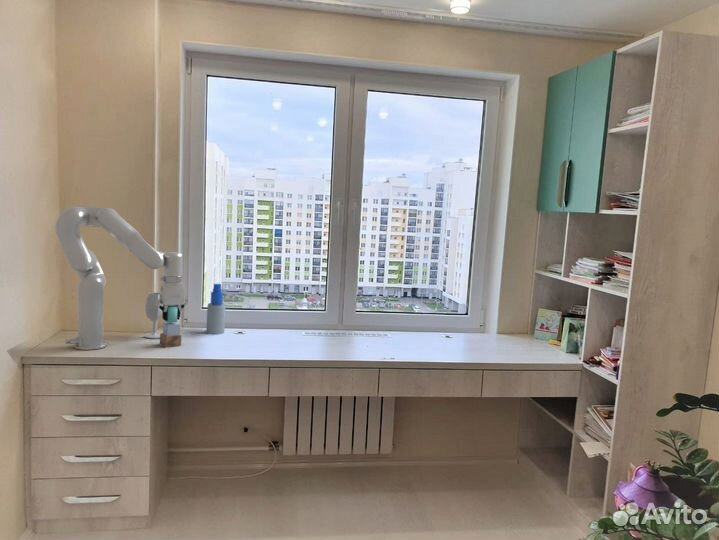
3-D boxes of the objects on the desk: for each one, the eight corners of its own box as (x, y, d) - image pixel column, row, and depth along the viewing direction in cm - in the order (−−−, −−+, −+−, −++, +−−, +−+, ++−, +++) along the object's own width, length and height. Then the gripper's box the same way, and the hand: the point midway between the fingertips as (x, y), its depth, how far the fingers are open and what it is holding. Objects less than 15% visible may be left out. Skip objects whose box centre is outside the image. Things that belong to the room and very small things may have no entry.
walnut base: (165, 347, 224) (166, 336, 224) (159, 344, 229) (160, 333, 229) (181, 346, 229) (181, 335, 229) (174, 342, 234) (175, 332, 234)
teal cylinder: (168, 322, 225) (168, 307, 224) (163, 320, 228) (164, 305, 228) (179, 322, 228) (179, 306, 227) (174, 319, 232) (175, 304, 231)
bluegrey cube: (167, 336, 225) (167, 325, 224) (162, 333, 229) (163, 322, 228) (179, 335, 229) (180, 324, 228) (174, 332, 233) (175, 321, 232)
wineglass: (167, 335, 245) (168, 293, 243) (158, 339, 236) (159, 295, 234) (150, 334, 246) (151, 291, 244) (140, 338, 237) (141, 294, 235)
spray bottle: (205, 333, 254) (207, 284, 251) (207, 329, 263) (209, 282, 260) (223, 334, 256) (225, 285, 253) (225, 330, 264) (227, 283, 262)
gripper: (156, 281, 218) (155, 322, 220) (194, 280, 229) (192, 319, 231) (150, 279, 223) (149, 319, 225) (187, 278, 235) (185, 316, 237)
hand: (171, 319), depth 228 cm, fingers closed on teal cylinder, 4 cm apart
